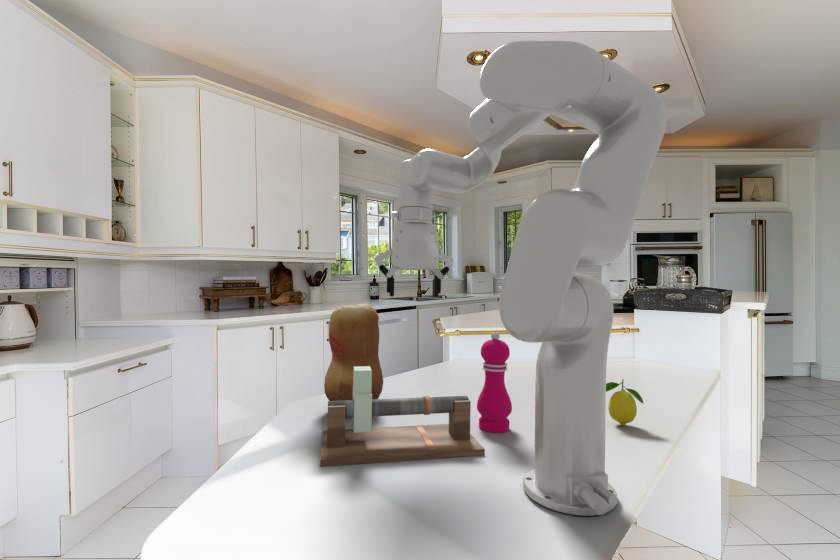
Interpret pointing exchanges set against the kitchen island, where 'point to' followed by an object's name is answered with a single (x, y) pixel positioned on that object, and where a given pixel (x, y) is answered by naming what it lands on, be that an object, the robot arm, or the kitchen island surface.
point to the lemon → (622, 403)
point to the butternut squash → (353, 350)
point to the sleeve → (362, 399)
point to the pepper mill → (494, 387)
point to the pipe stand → (399, 432)
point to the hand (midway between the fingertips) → (413, 296)
